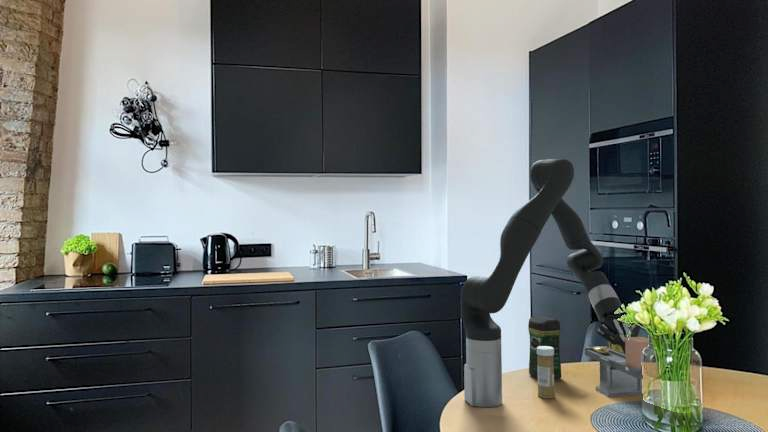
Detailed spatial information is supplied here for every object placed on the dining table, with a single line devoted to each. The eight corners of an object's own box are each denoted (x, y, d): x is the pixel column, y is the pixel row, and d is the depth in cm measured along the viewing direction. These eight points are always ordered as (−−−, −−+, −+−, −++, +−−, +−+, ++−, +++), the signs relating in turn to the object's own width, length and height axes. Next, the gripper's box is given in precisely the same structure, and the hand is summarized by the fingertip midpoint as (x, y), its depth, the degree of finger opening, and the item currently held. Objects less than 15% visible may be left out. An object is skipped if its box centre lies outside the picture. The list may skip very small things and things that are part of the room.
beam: (636, 379, 143) (636, 370, 143) (582, 355, 169) (582, 347, 169) (665, 377, 144) (665, 368, 144) (608, 354, 170) (608, 346, 170)
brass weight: (598, 355, 164) (598, 350, 164) (590, 352, 168) (590, 346, 168) (612, 354, 165) (612, 349, 165) (603, 351, 169) (603, 345, 169)
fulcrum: (607, 396, 152) (607, 361, 152) (595, 390, 158) (595, 356, 158) (647, 394, 155) (647, 359, 155) (634, 387, 160) (634, 354, 160)
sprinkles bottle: (558, 397, 153) (557, 347, 153) (546, 400, 150) (546, 349, 151) (545, 392, 157) (544, 344, 157) (533, 395, 154) (533, 346, 154)
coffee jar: (566, 380, 169) (565, 318, 169) (544, 383, 166) (543, 320, 166) (545, 372, 178) (544, 313, 178) (524, 374, 175) (523, 315, 175)
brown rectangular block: (639, 373, 144) (639, 342, 144) (625, 367, 150) (625, 337, 150) (657, 372, 145) (656, 341, 145) (642, 366, 151) (642, 336, 151)
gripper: (590, 296, 160) (615, 350, 148) (632, 295, 162) (660, 347, 150) (580, 312, 165) (604, 365, 153) (621, 310, 167) (648, 362, 155)
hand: (632, 356), depth 151 cm, fingers closed
